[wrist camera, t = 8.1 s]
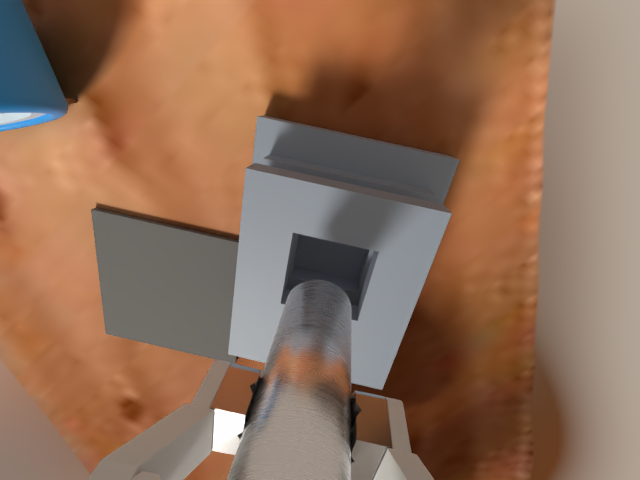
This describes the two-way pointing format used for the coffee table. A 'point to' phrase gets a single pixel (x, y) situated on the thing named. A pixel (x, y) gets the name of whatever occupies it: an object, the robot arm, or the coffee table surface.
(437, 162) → the grey block with hole
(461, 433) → the coffee table surface
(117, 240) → the rubber mat
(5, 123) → the alarm clock
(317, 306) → the steel pin
